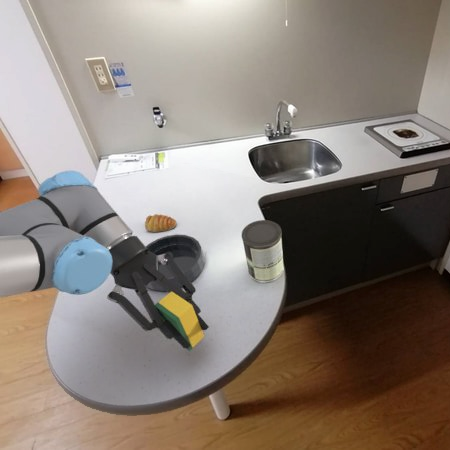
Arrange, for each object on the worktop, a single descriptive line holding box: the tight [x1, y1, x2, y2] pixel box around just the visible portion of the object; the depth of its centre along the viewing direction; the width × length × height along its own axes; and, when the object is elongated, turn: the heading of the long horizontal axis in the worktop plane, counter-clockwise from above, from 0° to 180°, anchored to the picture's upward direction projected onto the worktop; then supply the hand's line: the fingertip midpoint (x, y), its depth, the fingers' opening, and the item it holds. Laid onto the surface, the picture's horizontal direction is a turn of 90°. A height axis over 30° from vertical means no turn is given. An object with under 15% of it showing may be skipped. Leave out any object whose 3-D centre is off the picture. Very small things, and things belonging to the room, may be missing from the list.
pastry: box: [144, 213, 177, 233], centre depth 101 cm, size 9×7×4 cm
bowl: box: [145, 234, 205, 292], centre depth 87 cm, size 18×18×5 cm
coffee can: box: [241, 219, 285, 284], centre depth 83 cm, size 10×10×14 cm
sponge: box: [154, 291, 205, 352], centre depth 61 cm, size 4×6×11 cm, turn 56°
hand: (196, 337), depth 61 cm, fingers closed on sponge, 4 cm apart
